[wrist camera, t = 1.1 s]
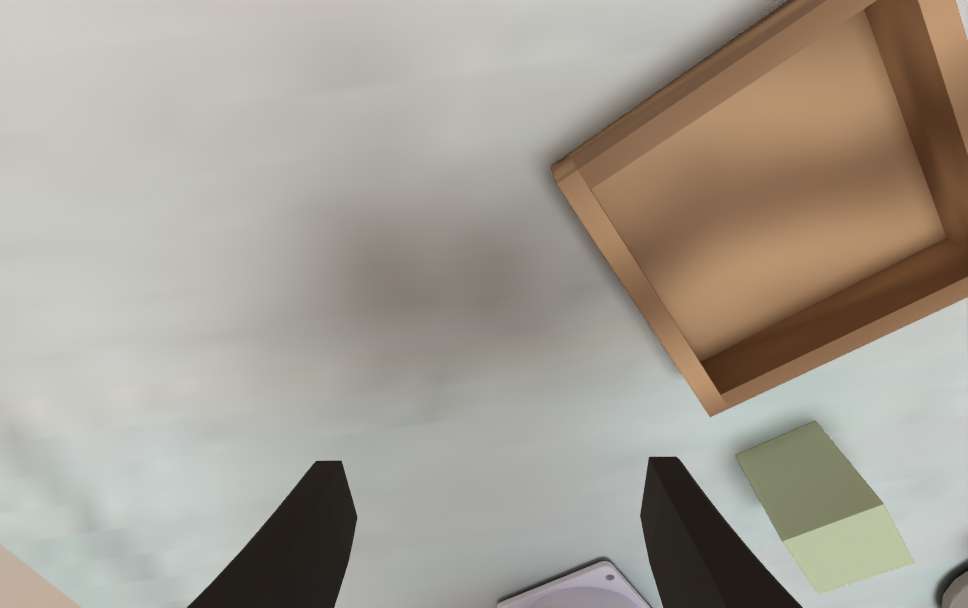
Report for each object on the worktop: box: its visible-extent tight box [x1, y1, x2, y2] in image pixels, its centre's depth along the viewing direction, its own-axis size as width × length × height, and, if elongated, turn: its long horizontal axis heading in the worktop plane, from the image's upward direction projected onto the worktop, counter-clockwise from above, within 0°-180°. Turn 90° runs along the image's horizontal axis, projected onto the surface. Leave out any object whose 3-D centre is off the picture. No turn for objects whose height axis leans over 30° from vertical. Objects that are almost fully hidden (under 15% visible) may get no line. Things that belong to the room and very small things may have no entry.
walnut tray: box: [551, 0, 968, 417], centre depth 18 cm, size 12×12×3 cm
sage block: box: [735, 421, 915, 594], centre depth 23 cm, size 4×4×5 cm
